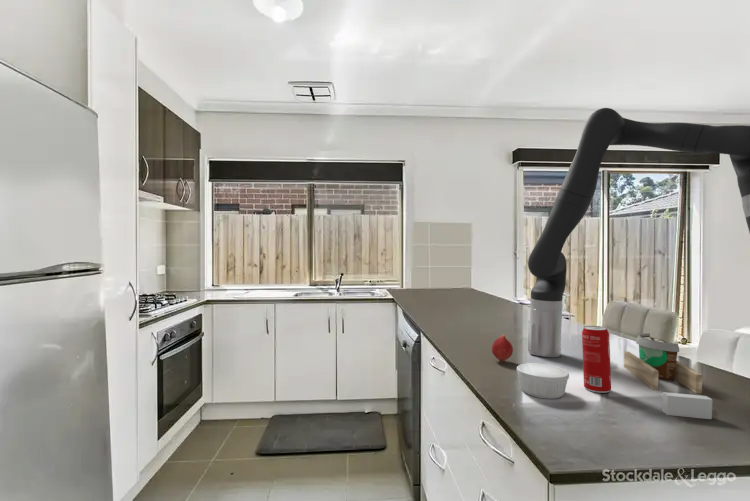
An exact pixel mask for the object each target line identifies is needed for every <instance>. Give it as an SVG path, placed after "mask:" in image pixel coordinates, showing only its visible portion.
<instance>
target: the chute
mask: <svg viewBox="0 0 750 501" xmlns="http://www.w3.org/2000/svg"><path fill="white" fill-rule="evenodd" d="M623 353H624V354H623V355H624V356H623V368H624V369H626V370H627V371H629V372H630V373H631V374H632V375H634V376H635V377H636V378H637V379H638V380H640V381H641V382H643V384H645V385H646V386H647V387H649V388H650V389H652V390H655V391H656V390H657V391H658V390H659V379H658V375H659V371H658V370H656V369H654V368H653V367H651V366H650V365H648V364H647V363H645V362H644V361H642V360H641V359H639V356H636V355H635V354H634V353H632V352H630V351H626V350H625V351H624V352H623ZM674 381H676V382H679V383H680V384H681V385H682V386H684V387H686V388H687V389H688V390H690V391H692V392H693V393H695V394H700V395H702V392H703V374H702V373H700V372H698V371H696V370H695V369H693V368H691V367H690V366H687V365H686V364H684V363H682V362H681V361H678V360H676V369H675V377H674Z"/></svg>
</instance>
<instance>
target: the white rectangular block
mask: <svg viewBox="0 0 750 501" xmlns="http://www.w3.org/2000/svg"><path fill="white" fill-rule="evenodd" d="M661 410H662V413H664V414H665V415H666V416H673V417H674V416H675V417H683V418H684V417H685V418H686V417H687V418H695V419H703V420H704V419H705V420H712V417H713V399H712V398H711V397H709V396H707V395H701V394H700V395H698V394H688V393H677V392H666V391H663V392H662V408H661Z"/></svg>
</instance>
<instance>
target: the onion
mask: <svg viewBox="0 0 750 501" xmlns="http://www.w3.org/2000/svg"><path fill="white" fill-rule="evenodd" d="M513 348H514V347H513V344H512V342H510V341H509V340H508V338H506V335H505V334H501V336H500V337H498V338H496V339H495V340H494V342H493V343H492V346H491V352H492V355H493V356H494V357H495V358H496V359H497V360H498V361H499V362H501V363H505V361H507V360H508V359H510V358H511V357H512V354H513V352H514V349H513Z"/></svg>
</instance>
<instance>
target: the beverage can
mask: <svg viewBox="0 0 750 501" xmlns="http://www.w3.org/2000/svg"><path fill="white" fill-rule="evenodd" d="M581 338H582V339H581V343H582V366H583V367H582V368H583V370H582V371H583V387H584V388H585V389H586V390H587V391H590V392H592V393H593V392H594V393H598V394H599V393H600V394H601V393H602V394H603V393H604V394H605V393H610V392H611V391H612V374H611V371H612V370H611V369H612V368H611V348H610V345H611V344H610V343H611V342H610V332H609V330H608V327H605V326H601V325H584V326H583V328H582V331H581Z"/></svg>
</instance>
